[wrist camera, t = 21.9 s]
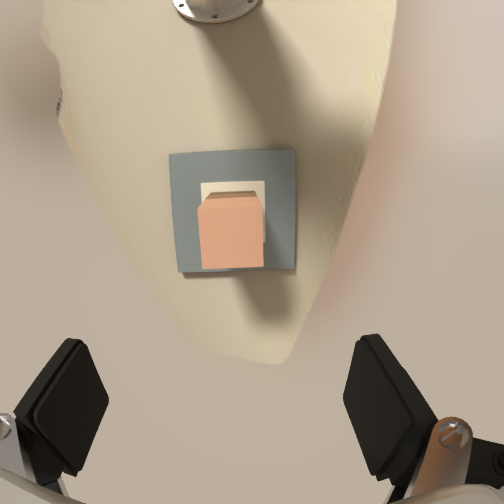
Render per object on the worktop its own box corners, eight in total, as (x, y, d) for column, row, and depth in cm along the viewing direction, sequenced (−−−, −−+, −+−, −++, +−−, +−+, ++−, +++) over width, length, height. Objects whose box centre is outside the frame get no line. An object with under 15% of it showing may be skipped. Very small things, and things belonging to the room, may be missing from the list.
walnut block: (210, 192, 35) (205, 198, 29) (254, 190, 35) (257, 196, 30) (213, 234, 37) (208, 248, 31) (255, 232, 37) (258, 246, 31)
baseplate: (171, 154, 35) (168, 154, 33) (293, 150, 35) (295, 149, 34) (180, 269, 40) (178, 272, 38) (292, 265, 40) (294, 269, 39)
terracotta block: (205, 199, 29) (197, 208, 24) (257, 196, 30) (262, 205, 24) (209, 248, 31) (202, 269, 25) (259, 246, 31) (263, 266, 26)
